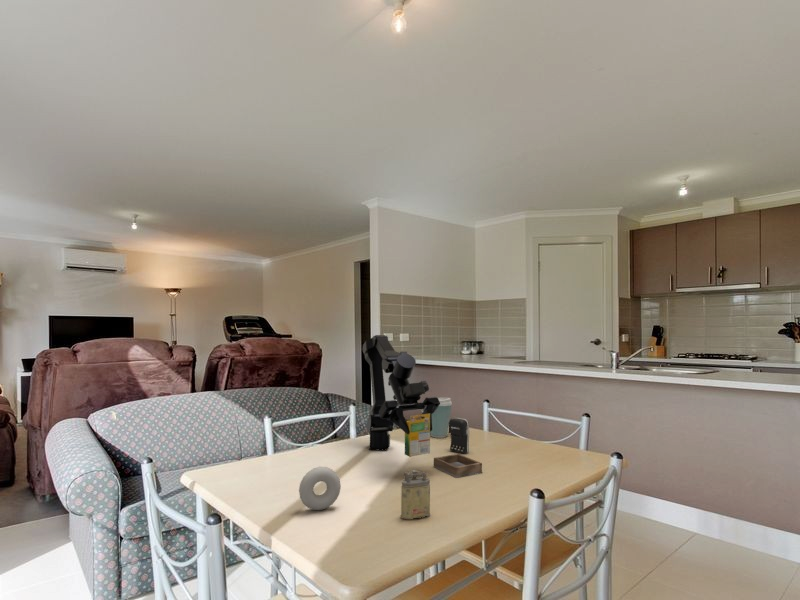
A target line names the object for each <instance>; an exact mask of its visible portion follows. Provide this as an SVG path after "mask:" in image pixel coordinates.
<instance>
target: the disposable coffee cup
mask: <svg viewBox="0 0 800 600" xmlns="http://www.w3.org/2000/svg"><path fill="white" fill-rule="evenodd" d="M437 398H438V399H439V401H440V405H439V406H438V408H437V409H436V410H435V412H434V413H433V414H432V431H430V438H431V437H432V438H436V439H437V438H438V439H439V438H440V439H441V438H447V435H448V433H449V421H450V420H451V419H450V418H451V411H452V405H453V402H452V399H451V397H437Z"/></svg>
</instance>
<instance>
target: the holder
mask: <svg viewBox="0 0 800 600" xmlns="http://www.w3.org/2000/svg"><path fill="white" fill-rule="evenodd" d="M433 468H435V469H437V470H439V471H441V472H444V473H445V474H448V475H450V476H451V477H454V478H456V479H458V478H462V477H467V476H472V475H477V473H478V474H482V473H483V462H480V461H477V460H475V459H472V458H470V457H467V456H465V455H462V454H461V453H455V454H449V455H444V456H437V457H433Z"/></svg>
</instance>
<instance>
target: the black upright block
mask: <svg viewBox="0 0 800 600" xmlns="http://www.w3.org/2000/svg"><path fill="white" fill-rule="evenodd" d="M469 424H470V423H469V421H468V420H467V419H465V418H460V417H453V418H451V419H449V426H448V434H449V435H450V446H449V451H451V452H453V453H456V454H469V451H470V448H469V445H470V425H469Z"/></svg>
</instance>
